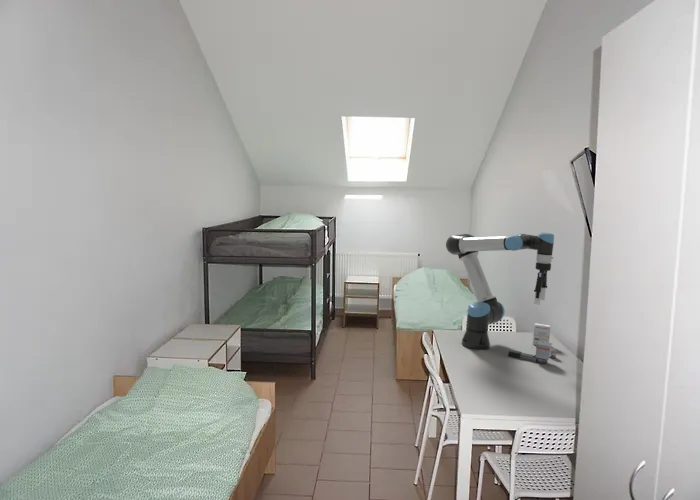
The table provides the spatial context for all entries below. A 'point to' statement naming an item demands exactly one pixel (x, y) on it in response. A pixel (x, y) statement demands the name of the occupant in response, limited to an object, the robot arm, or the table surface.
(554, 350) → the socket small
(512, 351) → the ratchet
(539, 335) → the ink box
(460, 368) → the table surface
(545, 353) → the socket
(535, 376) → the table surface
